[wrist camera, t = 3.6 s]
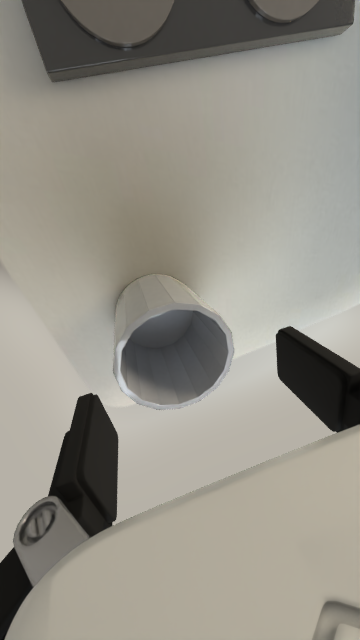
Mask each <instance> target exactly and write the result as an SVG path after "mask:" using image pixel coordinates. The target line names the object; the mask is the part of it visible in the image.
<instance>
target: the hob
mask: <svg viewBox="0 0 360 640" xmlns="http://www.w3.org/2000/svg"><path fill="white" fill-rule="evenodd" d="M21 1H22V3H23V6H24V9H25V12H26V15H27V18H28V20H29V23H30V26H31V29H32V32H33V34H34V37H35V40H36V43H37V46H38V49H39V51H40V54H41V57H42V60H43V63H44V66H45V68H46V71H47V74H48V76H49V78H50V80H51V81H52V82H57V81H63V80H69V79H75V78H81V77H87V76H93V75H99V74H105V73H111V72H118V71H124V70H130V69H136V68H142V67H148V66H154V65H160V64H166V63H172V62H178V61H184V60H190V59H196V58H202V57H208V56H214V55H220V54H226V53H232V52H238V51H244V50H250V49H256V48H262V47H268V46H274V45H280V44H286V43H292V42H298V41H304V40H310V39H316V38H322V37H328V36H334V35H340V34H342V33H343V32H344V31H345V30H347V29H348V28H349V27H350V26H351V25H352V24H353V21H354V8H355V0H21Z"/></svg>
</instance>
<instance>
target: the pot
mask: <svg viewBox="0 0 360 640" xmlns="http://www.w3.org/2000/svg"><path fill="white" fill-rule="evenodd" d="M233 355H234V346H233V339H232V332H231V330H230V329H229V328H228V326H227V325H226V323H225V322H224V320H223V319H222V317H221V316H220V315H219V314H218V313H217V312H216V311H215V310H213V309H212V308H211V307H210V306H209V305H208V304H207V303H206V302H204V301H203V300H202V299H201V298H200V297H199V296H198V295H197V294H195V293H194V292H193V291H192V290H191V289H190V288H189V287H188V286H186V285H185V284H184V283H182V282H181V281H179V280H178V279H176V278H174V277H171V276H168V275H163V274H151V275H146V276H143V277H140V278H138V279H136V280H135V281H133V282H132V283H130V284H129V285H128V286H127V287H126V288H125V289H124V291H123V292H122V293H121V295H120V297H119V299H118V301H117V304H116V311H115V333H114V359H113V373H114V375H115V377H116V380H117V382H118V384H119V386H120V388H121V391H122V392H123V393H125V394H126V395H127V396H128V397H130V398H131V399H132V400H133V401H135V402H136V403H137V404H139V405H143V406H146V407H150V408H153V409H156V410H165V409H179V408H183V407H185V406H188V405H190V404H193V403H196V402H199V401H201V400H202V399H203V398H204V397H206V396H207V395H208V394H210V393H211V392H212V391H214V390H215V389H216V388H217V387H218V386H219V385H220V383H221V382H222V380H223V379H224V377H225V376H226V375H227V373H228V372H229V369H230V366H231V362H232V358H233Z"/></svg>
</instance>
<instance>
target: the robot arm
mask: <svg viewBox="0 0 360 640" xmlns="http://www.w3.org/2000/svg"><path fill="white" fill-rule="evenodd" d="M276 347H277V348H276V350H277V370H278V376H279V378H280V380H281V381H282V382H283V383H284V384H285V385H286V386H287V387H288V388H289V389H290V390H291V391H292V392H293V393H294V394H295V395H296V396H297V397H298V398H299V399H300V400H301V401H302V402H303V403H304V404H305V405H306V406H307V407H308V408H309V409H310V410H311V411H312V412H313V413H314V414H315V415H316V416H318V418H319V419H320V420H321V421H322V422H323V423H324V424H325V425H326V426H327V427H328V428H329V429H330V430H332V431H336V432H337V433H336V434H333V435H331V436H328V437H326V438H324V439H321V440H318V441H316V442H313V443H311V444H308V445H306V446H303V447H301V448H298V449H296V450H293V451H291V452H288V453H286V454H283V455H281V456H278V457H276V458H273V459H271V460H268V461H266V462H263V463H261V464H258V465H256V466H254V467H251V468H249V469H246V470H244V471H241V472H239V473H236V474H234V475H231V476H229V477H227V478H224V479H222V480H219V481H217V482H214V483H212V484H210V485H207V486H205V487H202V488H200V489H197V490H195V491H192V492H190V493H188V494H185V495H183V496H180V497H178V498H175V499H173V500H171V501H168V502H166V503H164V504H161V505H159V506H156V507H154V508H152V509H149V510H147V511H145V512H142V513H140V514H138V515H136V516H133V517H131V518H129V519H126V520H124V521H122V522H120V523H118V524H116V525H114V526H112V522H113V521H115V520H116V517H117V471H118V435H117V432H116V430H115V428H114V426H113V424H112V422H111V420H110V418H109V416H108V414H107V413H106V411H105V409H104V407H103V405H102V403H101V401H100V399H99V397H98V395H93V394H92V393H90V394H86V395H84V396H80V397H79V398H78V400H77V404H76V409H75V412H74V416H73V420H72V424H71V428H70V431H68V432H67V433H66V434H65V436H64V440H63V443H62V447H61V451H60V455H59V458H58V462H57V465H56V469H55V473H54V476H53V480H52V484H51V487H50V491H49V495H48V497H45V498H43V499H41V500H39V501H38V502H36V503H35V504H34V505H33V506H32V507H31V508H29V510H28V511H27V512H26V513H25V514H24V515H23V517H22V519H21V520H20V522H19V524H18V525H17V528H16V531H15V533H14V539H13V543H14V548H13V549H12V550H11V551H10V552H9V553H8V555H7V556H6V557H5V558H4V559H3V560H2V562H1V563H0V640H360V368H358V367H356V366H355V365H353V364H352V363H350V362H348V361H347V360H345V359H343V358H342V357H340V356H339V355H337V354H335V353H334V352H332V351H330V350H329V349H327V348H325V347H324V346H322V345H320V344H319V343H317V342H316V341H314V340H312V339H311V338H309V337H308V336H306V335H304V334H303V333H301V332H299V331H298V330H296V329H294V328H293V327H291V326H289V327H286V328H283V329H280V330H279V331H278V333H277V334H276Z"/></svg>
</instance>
